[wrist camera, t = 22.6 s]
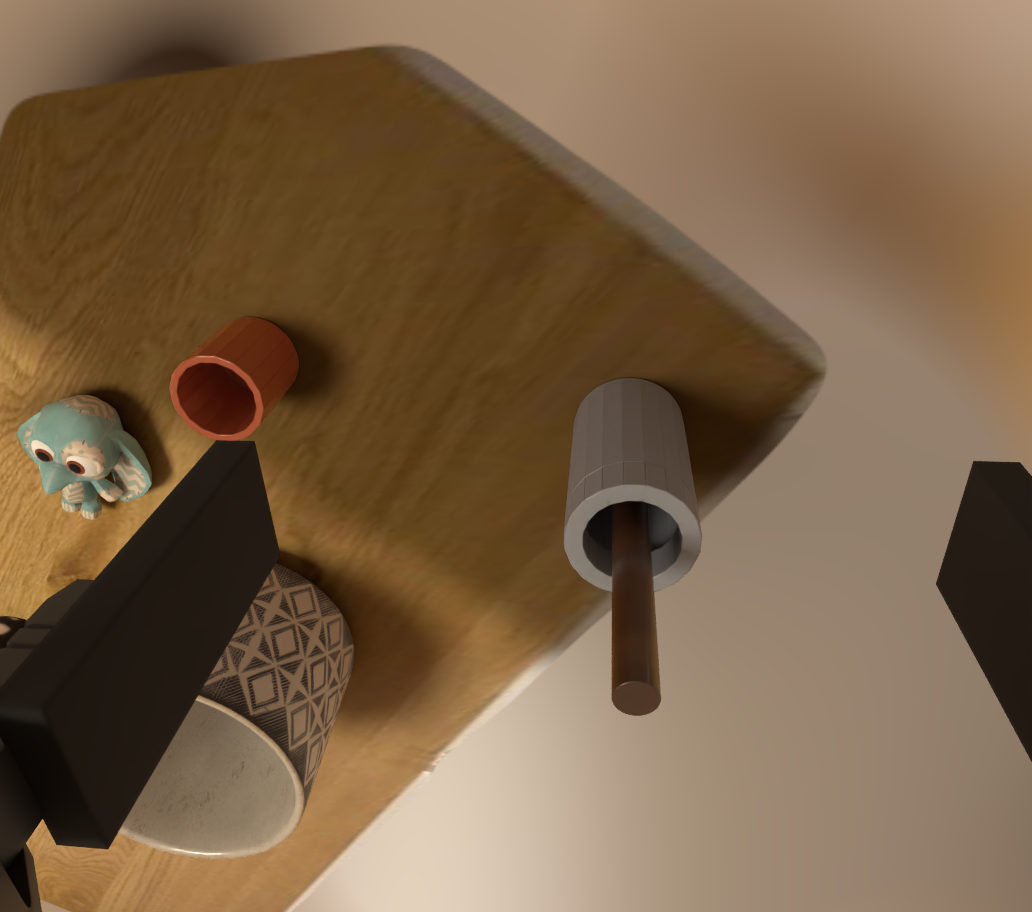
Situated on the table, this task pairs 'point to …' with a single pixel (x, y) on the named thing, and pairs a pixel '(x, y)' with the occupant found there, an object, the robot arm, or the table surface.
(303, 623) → the planter
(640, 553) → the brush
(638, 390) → the grey cylindrical holder
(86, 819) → the robot arm
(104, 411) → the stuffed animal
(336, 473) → the table surface
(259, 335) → the brush cup
